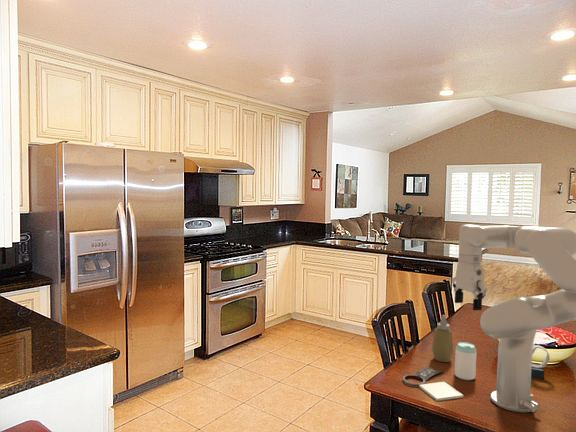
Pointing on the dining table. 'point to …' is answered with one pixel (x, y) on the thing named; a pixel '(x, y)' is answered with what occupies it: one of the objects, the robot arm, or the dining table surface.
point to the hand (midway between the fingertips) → (467, 306)
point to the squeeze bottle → (442, 341)
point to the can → (465, 361)
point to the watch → (536, 369)
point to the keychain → (421, 376)
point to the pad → (441, 391)
